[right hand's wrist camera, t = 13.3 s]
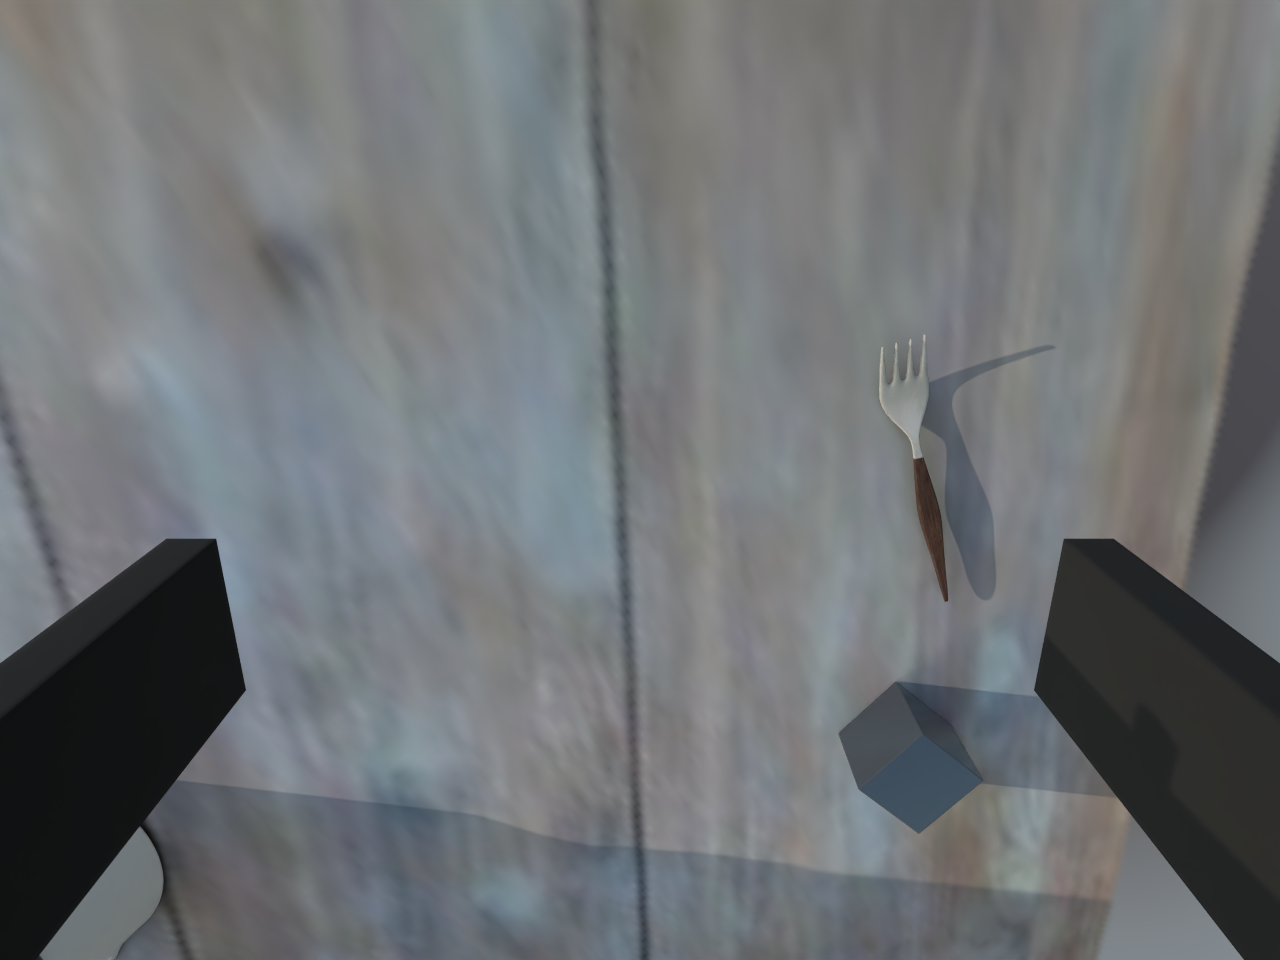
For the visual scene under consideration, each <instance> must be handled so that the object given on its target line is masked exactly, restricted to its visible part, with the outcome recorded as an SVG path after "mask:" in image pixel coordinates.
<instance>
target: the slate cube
mask: <svg viewBox="0 0 1280 960" xmlns="http://www.w3.org/2000/svg"><path fill="white" fill-rule="evenodd" d="M839 737H840V739H841V742H842V745H843V748H844V750H845V753H846V756H847V759H848V761H849V764H850V767H851V770H852V773H853V775H854V778H855V781H856V784H857V786H858V789H859V790H860V791H861V792H863V793H864V794H866V795H867V796H868V797H870V798H871V799H872V800H874V801H875V802H876V803H878V804H879V805H880V806H882V807H883V808H885V809H886V810H887V811H889V812H890V813H891V814H893V815H894V816H895V817H897V818H898V819H900V820H901V821H902V822H904V823H905V824H906V825H908V826H909V827H910V828H912V829H913V830H914V831H916V832H917V833H921V832H922V831H923V830H924V829H925V828H927V827H928V826H929V825H930V824H931V823H933V822H934V821H935V820H936V819H938V818H939V817H940V816H941V815H942V814H944V813H945V812H946V811H947V810H948V809H950V808H951V807H952V806H953V805H955V804H956V803H957V802H958V801H959V800H961V799H962V798H963V797H964V796H965V795H967V794H968V793H969V792H970V791H972V790H973V789H974V788H975V787H976V786H978V785H979V784H980V783H981V782H982V781H983V779H982V777H981V775H980V774H979V772H978V770H977V768H976V767H975V765H974V763H973V761H972V760H971V758H970V756H969V755H968V753H967V751H966V749H965V748H964V746H963V744H962V742H961V741H960V739H959V737H958V735H957V734H956V732H955V730H954V728H953V727H952V725H951V724H949V723H948V722H947V721H946V720H944V719H943V718H942V717H941V716H939V715H938V714H937V713H935V712H934V711H933V710H932V709H930V708H929V707H928V706H927V705H925V704H924V703H923V702H922V701H920V700H919V699H918V698H916V697H915V696H914V695H913V694H911V693H910V692H909V691H908V690H906V689H905V688H904V687H903V686H901V685H900V684H899V683H897V682H895V683H894V684H893V685H892V686H891V687H890V688H888V689H887V690H886V691H885V692H884V693H883V694H882V695H881V696H880V697H878V698H877V699H876V700H875V701H874V702H873V703H872V704H871V705H870V706H868V707H867V708H866V709H865V710H864V711H863V712H862V713H861V714H860V715H858V716H857V717H856V718H855V719H854V720H853V721H852V722H851V723H850V724H848V725H847V726H846V727H845V728H844V729H843V730H842V731H841V732H840V733H839Z"/></svg>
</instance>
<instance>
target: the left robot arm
mask: <svg viewBox="0 0 1280 960" xmlns="http://www.w3.org/2000/svg"><path fill="white" fill-rule="evenodd" d="M162 892H163V870H162V866H161V862H160V859H159V856H158V854H157V851H156V849H155V847H154V845H153V844H152V842H151V840H150V839H149V837H148V836H147V834H146V833H145V832H144V830H143V829H142V828H141V827H139V828H138V829H137V831H136V832H135V833H134V834H133V836H132V837H131V838H130V840H129V841H128V842H127V843H126V845H125V846H124V847H123V849H122V850H121V851H120V852H119V854H118V855H117V856H116V858H115V859H114V860H113V861H112V863H111V864H110V865H109V867H108V868H107V869H106V870H105V872H104V873H103V874H102V876H101V877H100V878H99V879H98V881H97V882H96V883H95V885H94V886H93V887H92V888H91V890H90V891H89V892H88V894H87V895H86V896H85V897H84V899H83V900H82V901H81V903H80V904H79V905H78V906H77V908H76V909H75V910H74V911H73V913H72V914H71V915H70V917H69V918H68V919H67V920H66V922H65V923H64V924H63V926H62V927H61V928H60V929H59V931H58V932H57V933H56V935H55V936H54V937H53V938H52V940H51V941H50V942H49V944H48V945H47V946H46V947H45V949H44V950H43V951H42V953H41V954H40V955H39V956H38V958H37V959H36V960H115V958H116V956H117V955H118V952H119V950H120V948H121V945H122V944H123V943H124V942H125V941H126V940H127V939H128V938H129V937H130V936H131V935H132V934H133V933H134V932H135V931H136V930H137V929H138V928H139V927H141V926H142V925H143V924H144V923H145V922H146V921H147V920H148V919H149V918H150V917H151V915H152V914H153V913H154V911H155V910H156V908H157V906H158V904H159V902H160V899H161V896H162Z"/></svg>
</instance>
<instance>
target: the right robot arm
mask: <svg viewBox="0 0 1280 960" xmlns="http://www.w3.org/2000/svg"><path fill="white" fill-rule="evenodd" d="M245 691H246V688H245V683H244V678H243V673H242V668H241V663H240V658H239V653H238V648H237V643H236V638H235V633H234V628H233V623H232V617H231V612H230V607H229V602H228V597H227V592H226V587H225V582H224V577H223V572H222V567H221V562H220V557H219V551H218V546H217V541H216V539H166V540H164V541H163V542H162V543H160V544H159V545H158V546H156V547H155V548H154V549H152V550H151V551H150V552H148V553H147V554H146V555H144V556H143V557H142V558H140V559H139V560H138V561H136V562H135V563H134V564H132V565H131V566H130V567H128V568H127V569H126V570H124V571H123V572H122V573H120V574H119V575H118V576H116V577H115V578H114V579H112V580H111V581H110V582H108V583H107V584H106V585H104V586H103V587H102V588H100V589H99V590H98V591H96V592H95V593H94V594H92V595H91V596H90V597H88V598H87V599H86V600H84V601H83V602H82V603H80V604H79V605H78V606H76V607H75V608H74V609H72V610H71V611H70V612H68V613H67V614H66V615H64V616H63V617H62V618H60V619H59V620H58V621H56V622H55V623H54V624H52V625H51V626H50V627H48V628H47V629H46V630H44V631H43V632H41V633H40V634H39V635H37V636H36V637H35V638H33V639H32V640H31V641H29V642H28V643H27V644H25V645H24V646H23V647H21V648H20V649H19V650H17V651H16V652H15V653H13V654H12V655H11V656H9V657H8V658H7V659H5V660H4V661H3V662H1V663H0V960H36V959H37V958H38V956H39V955H40V954H41V953H42V951H43V950H44V949H45V947H46V946H47V945H48V944H49V942H50V941H51V940H52V938H53V937H54V936H55V935H56V933H57V932H58V931H59V929H60V928H61V927H62V926H63V924H64V923H65V922H66V920H67V919H68V918H69V917H70V915H71V914H72V913H73V911H74V910H75V909H76V908H77V906H78V905H79V904H80V903H81V901H82V900H83V899H84V897H85V896H86V895H87V894H88V892H89V891H90V890H91V888H92V887H93V886H94V885H95V883H96V882H97V881H98V879H99V878H100V877H101V876H102V874H103V873H104V872H105V870H106V869H107V868H108V867H109V865H110V864H111V863H112V861H113V860H114V859H115V858H116V856H117V855H118V854H119V852H120V851H121V850H122V849H123V847H124V846H125V845H126V843H127V842H128V841H129V840H130V838H131V837H132V836H133V834H134V833H135V832H136V831H137V829H138V828H139V827H140V825H141V824H142V823H143V822H144V820H145V819H146V818H147V816H148V815H149V814H150V813H151V811H152V810H153V809H154V807H155V806H156V805H157V804H158V802H159V801H160V800H161V798H162V797H163V796H164V795H165V793H166V792H167V791H168V790H169V788H170V787H171V786H172V784H173V783H174V782H175V781H176V779H177V778H178V777H179V775H180V774H181V773H182V772H183V770H184V769H185V768H186V766H187V765H188V764H189V763H190V761H191V760H192V759H193V757H194V756H195V755H196V754H197V752H198V751H199V750H200V748H201V747H202V746H203V745H204V743H205V742H206V741H207V739H208V738H209V737H210V736H211V734H212V733H213V732H214V730H215V729H216V728H217V727H218V725H219V724H220V723H221V721H222V720H223V719H224V718H225V716H226V715H227V714H228V712H229V711H230V710H231V709H232V707H233V706H234V705H235V703H236V702H237V701H238V700H239V698H240V697H241V696H242V694H243V693H244V692H245ZM1034 691H1035V692H1036V693H1037V694H1038V696H1039V697H1040V698H1041V700H1042V701H1043V702H1044V703H1045V705H1046V706H1047V707H1048V709H1049V710H1050V711H1051V712H1052V714H1053V715H1054V716H1055V718H1056V719H1057V720H1058V721H1059V723H1060V724H1061V725H1062V727H1063V728H1064V729H1065V730H1066V732H1067V733H1068V734H1069V736H1070V737H1071V738H1072V739H1073V741H1074V742H1075V743H1076V745H1077V746H1078V747H1079V748H1080V750H1081V751H1082V752H1083V754H1084V755H1085V756H1086V757H1087V759H1088V760H1089V761H1090V763H1091V764H1092V765H1093V766H1094V768H1095V769H1096V770H1097V772H1098V773H1099V774H1100V775H1101V777H1102V778H1103V779H1104V781H1105V782H1106V783H1107V784H1108V786H1109V787H1110V788H1111V790H1112V791H1113V792H1114V793H1115V795H1116V796H1117V797H1118V798H1119V800H1120V801H1121V802H1122V804H1123V805H1124V806H1125V807H1126V809H1127V810H1128V811H1129V813H1130V814H1131V815H1132V816H1133V818H1134V819H1135V820H1136V822H1137V823H1138V824H1139V825H1140V827H1141V828H1142V829H1143V831H1144V832H1145V833H1146V834H1147V836H1148V837H1149V838H1150V840H1151V841H1152V842H1153V843H1154V845H1155V846H1156V847H1157V848H1158V850H1159V851H1160V852H1161V854H1162V855H1163V856H1164V858H1165V859H1166V860H1167V861H1168V863H1169V864H1170V865H1171V867H1172V868H1173V869H1174V870H1175V872H1176V873H1177V874H1178V876H1179V877H1180V878H1181V879H1182V881H1183V882H1184V883H1185V884H1186V886H1187V887H1188V888H1189V890H1190V891H1191V892H1192V893H1193V895H1194V896H1195V897H1196V899H1197V900H1198V901H1199V903H1200V904H1201V905H1202V906H1203V908H1204V909H1205V910H1206V911H1207V913H1208V914H1209V915H1210V917H1211V918H1212V919H1213V920H1214V922H1215V923H1216V924H1217V926H1218V927H1219V928H1220V929H1221V931H1222V932H1223V933H1224V935H1225V936H1226V937H1227V938H1228V940H1229V941H1230V942H1231V944H1232V945H1233V946H1234V947H1235V949H1236V950H1237V951H1238V953H1239V954H1240V955H1241V956H1242V958H1243V959H1244V960H1280V663H1278V662H1277V661H1276V660H1275V659H1273V658H1272V657H1271V656H1269V655H1268V654H1266V653H1265V652H1264V651H1262V650H1261V649H1260V648H1259V647H1257V646H1256V645H1254V644H1253V643H1252V642H1251V641H1249V640H1248V639H1246V638H1245V637H1244V636H1242V635H1241V634H1240V633H1238V632H1237V631H1236V630H1234V629H1233V628H1232V627H1230V626H1229V625H1228V624H1226V623H1225V622H1224V621H1222V620H1221V619H1220V618H1218V617H1217V616H1216V615H1214V614H1213V613H1212V612H1210V611H1209V610H1208V609H1206V608H1205V607H1204V606H1202V605H1201V604H1200V603H1198V602H1197V601H1196V600H1194V599H1193V598H1192V597H1190V596H1189V595H1188V594H1186V593H1185V592H1184V591H1182V590H1181V589H1180V588H1178V587H1177V586H1176V585H1174V584H1173V583H1172V582H1170V581H1169V580H1168V579H1166V578H1165V577H1164V576H1162V575H1161V574H1160V573H1158V572H1157V571H1156V570H1154V569H1153V568H1152V567H1150V566H1149V565H1148V564H1146V563H1145V562H1144V561H1142V560H1141V559H1140V558H1138V557H1137V556H1136V555H1134V554H1133V553H1132V552H1130V551H1129V550H1128V549H1126V548H1125V547H1124V546H1122V545H1121V544H1120V543H1118V542H1117V541H1116V540H1114V539H1064V541H1063V546H1062V551H1061V557H1060V562H1059V567H1058V572H1057V577H1056V582H1055V587H1054V592H1053V597H1052V602H1051V607H1050V612H1049V617H1048V623H1047V628H1046V633H1045V638H1044V643H1043V648H1042V653H1041V658H1040V663H1039V668H1038V673H1037V678H1036V683H1035V688H1034Z"/></svg>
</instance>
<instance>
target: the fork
mask: <svg viewBox="0 0 1280 960" xmlns="http://www.w3.org/2000/svg"><path fill="white" fill-rule="evenodd" d="M879 396H880V402H881V405H882V408H883V409H884V411H885V412H886V414H887V415H888V416H889V417H890V418H891V420H892V421H893V422H894V423H896V424H897V425H898V426H899V427H900V428H901V429H902V430H903V431H904V432H905V433H906V435H907V436H908V437H909V439H910V441H911V444H912V449H913V460H914V475H915V490H916V502H917V510H918V515H919V520H920V524H921V527H922V530H923V533H924V537H925V540H926V542H927V545H928V548H929V551H930V554H931V558H932V561H933V564H934V568H935V571H936V574H937V578H938V581H939V585H940V588H941V592H942V595H943V598H944V601H945V602H946V601H948V591H947V580H946V570H945V559H944V546H943V531H942V521H941V515H940V510H939V506H938V502H937V499H936V495H935V492H934V489H933V486H932V483H931V480H930V477H929V473H928V470H927V467H926V464H925V461H924V458H923V455H922V451H921V448H920V443H919V433H920V428H921V424H922V421H923V417H924V414H925V411H926V407H927V403H928V397H929V381H928V374H927V357H926V335H925V334H924V337H923V345H922V353H921V364H920V372H919V375H918V376H915V375H914V372H913V357H912V340H911V339H910V341H909V349H908V359H907V372H906V378H905V379H904V380H901V378H900V371H899V359H898V344H897V343H896V344H895V354H894V367H893V380H892V382H891V384H888V383H887V380H886V371H885V361H884V347H881V360H880V388H879Z"/></svg>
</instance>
